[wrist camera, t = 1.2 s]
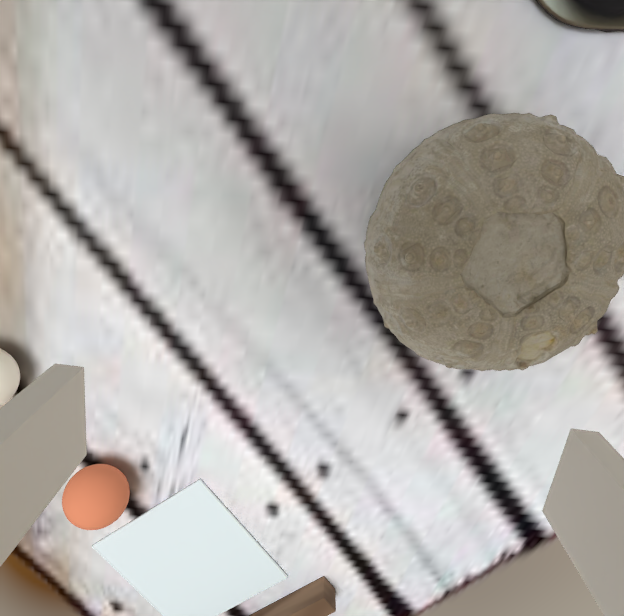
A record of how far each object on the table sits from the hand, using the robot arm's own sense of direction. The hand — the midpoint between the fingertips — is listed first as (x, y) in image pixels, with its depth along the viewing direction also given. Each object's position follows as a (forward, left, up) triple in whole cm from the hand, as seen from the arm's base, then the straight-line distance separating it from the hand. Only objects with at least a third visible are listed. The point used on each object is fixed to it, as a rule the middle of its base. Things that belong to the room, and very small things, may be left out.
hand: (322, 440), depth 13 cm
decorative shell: (+6, +10, -27) cm, 29 cm away
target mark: (+18, -29, -27) cm, 43 cm away
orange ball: (+6, -29, -24) cm, 38 cm away
